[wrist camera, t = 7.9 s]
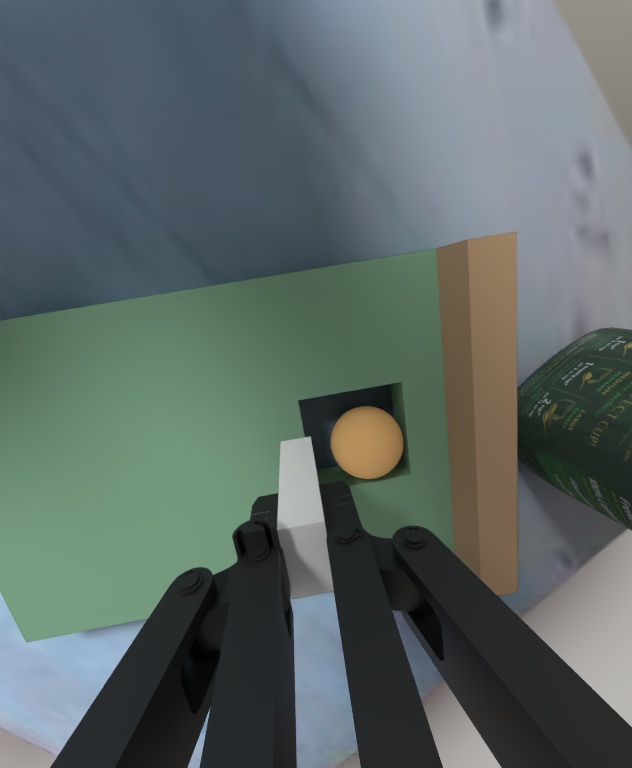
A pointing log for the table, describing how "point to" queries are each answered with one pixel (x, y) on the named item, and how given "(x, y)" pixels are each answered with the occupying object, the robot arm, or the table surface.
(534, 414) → the coffee jar
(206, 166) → the table surface
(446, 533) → the putting board
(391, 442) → the ball
